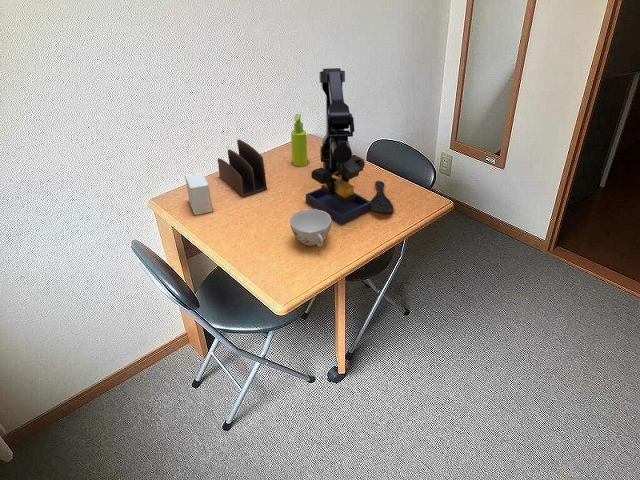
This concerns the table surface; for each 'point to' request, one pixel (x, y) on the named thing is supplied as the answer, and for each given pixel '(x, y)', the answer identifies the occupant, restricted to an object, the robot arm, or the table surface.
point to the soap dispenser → (299, 143)
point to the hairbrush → (381, 201)
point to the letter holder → (244, 170)
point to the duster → (341, 190)
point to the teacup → (311, 226)
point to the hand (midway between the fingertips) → (338, 191)
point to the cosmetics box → (198, 193)
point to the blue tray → (338, 206)
